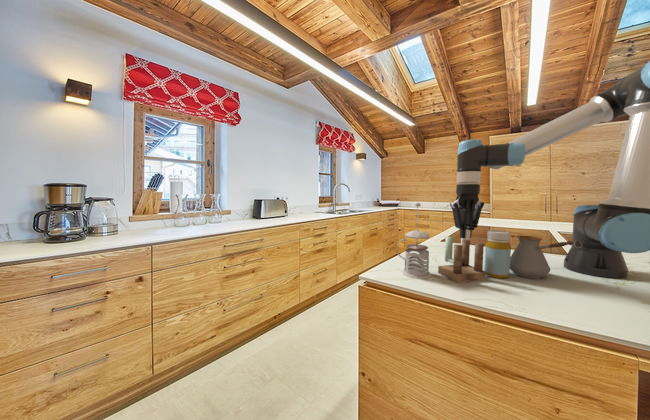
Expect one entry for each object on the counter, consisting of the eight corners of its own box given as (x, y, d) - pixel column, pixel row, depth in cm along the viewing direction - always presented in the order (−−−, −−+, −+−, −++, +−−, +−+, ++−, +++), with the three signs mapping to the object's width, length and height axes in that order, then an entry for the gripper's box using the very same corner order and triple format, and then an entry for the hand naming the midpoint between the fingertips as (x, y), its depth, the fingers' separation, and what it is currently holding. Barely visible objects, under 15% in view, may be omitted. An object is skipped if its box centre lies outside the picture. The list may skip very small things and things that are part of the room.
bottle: (500, 271, 86) (503, 229, 85) (514, 279, 79) (516, 233, 78) (480, 271, 87) (481, 229, 86) (491, 278, 80) (493, 233, 79)
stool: (465, 270, 88) (466, 239, 87) (486, 279, 79) (487, 244, 78) (438, 272, 86) (438, 240, 85) (456, 282, 77) (457, 246, 76)
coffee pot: (498, 269, 89) (500, 228, 88) (528, 268, 89) (531, 227, 88) (556, 294, 68) (559, 241, 66) (595, 293, 68) (600, 240, 67)
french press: (433, 280, 80) (434, 203, 77) (396, 276, 83) (396, 203, 81) (430, 270, 89) (431, 201, 87) (397, 267, 93) (397, 201, 90)
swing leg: (463, 265, 85) (464, 240, 84) (457, 266, 85) (458, 240, 84) (449, 259, 92) (449, 236, 91) (443, 260, 92) (444, 236, 91)
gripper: (475, 183, 94) (472, 243, 97) (445, 183, 92) (443, 245, 94) (492, 183, 87) (488, 248, 89) (459, 183, 85) (456, 250, 87)
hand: (465, 246), depth 92 cm, fingers closed
